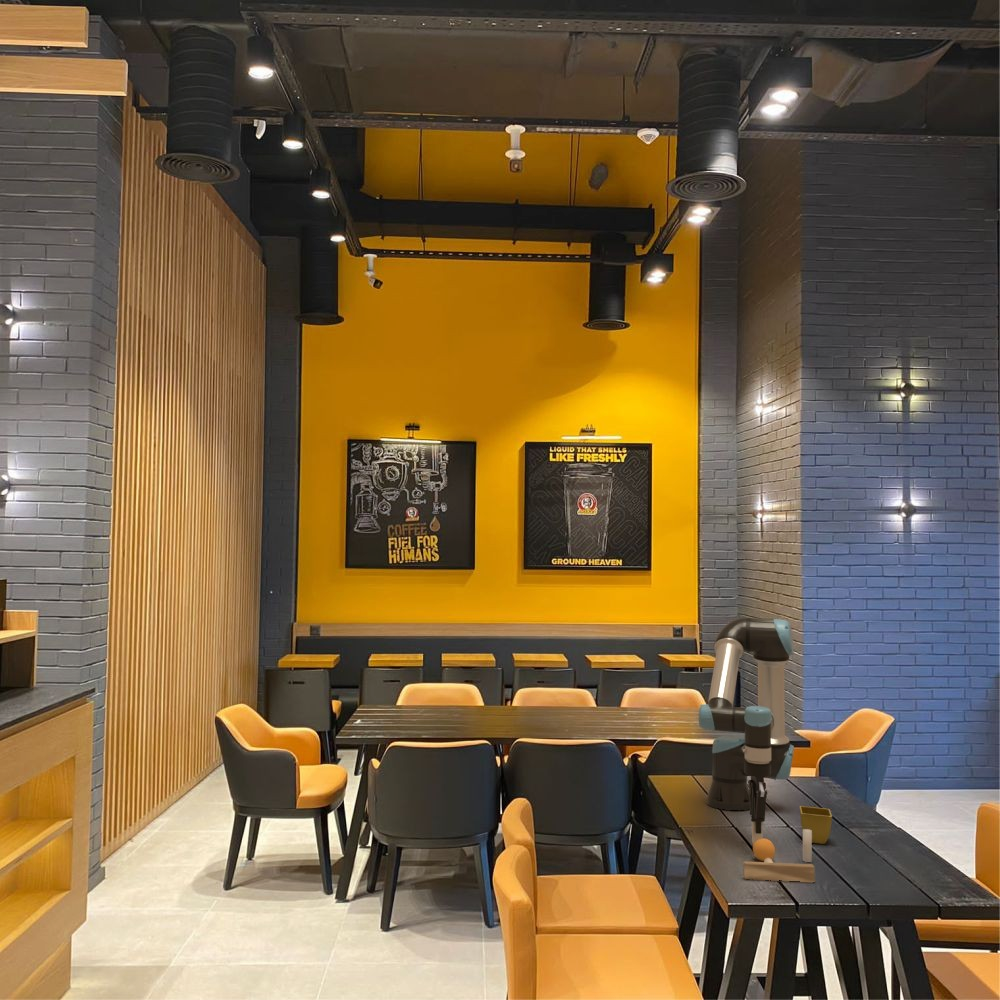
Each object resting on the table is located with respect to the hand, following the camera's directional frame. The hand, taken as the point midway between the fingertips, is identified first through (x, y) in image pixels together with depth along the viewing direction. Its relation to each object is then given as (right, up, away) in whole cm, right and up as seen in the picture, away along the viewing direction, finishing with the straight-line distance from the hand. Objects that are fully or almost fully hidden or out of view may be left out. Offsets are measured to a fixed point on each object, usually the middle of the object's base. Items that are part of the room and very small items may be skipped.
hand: (757, 843), depth 261 cm
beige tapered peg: (+12, -2, -9) cm, 15 cm away
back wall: (-1, 0, -24) cm, 24 cm away
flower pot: (+20, -3, +10) cm, 23 cm away
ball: (-1, +2, -9) cm, 9 cm away
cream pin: (-1, 0, -14) cm, 14 cm away
